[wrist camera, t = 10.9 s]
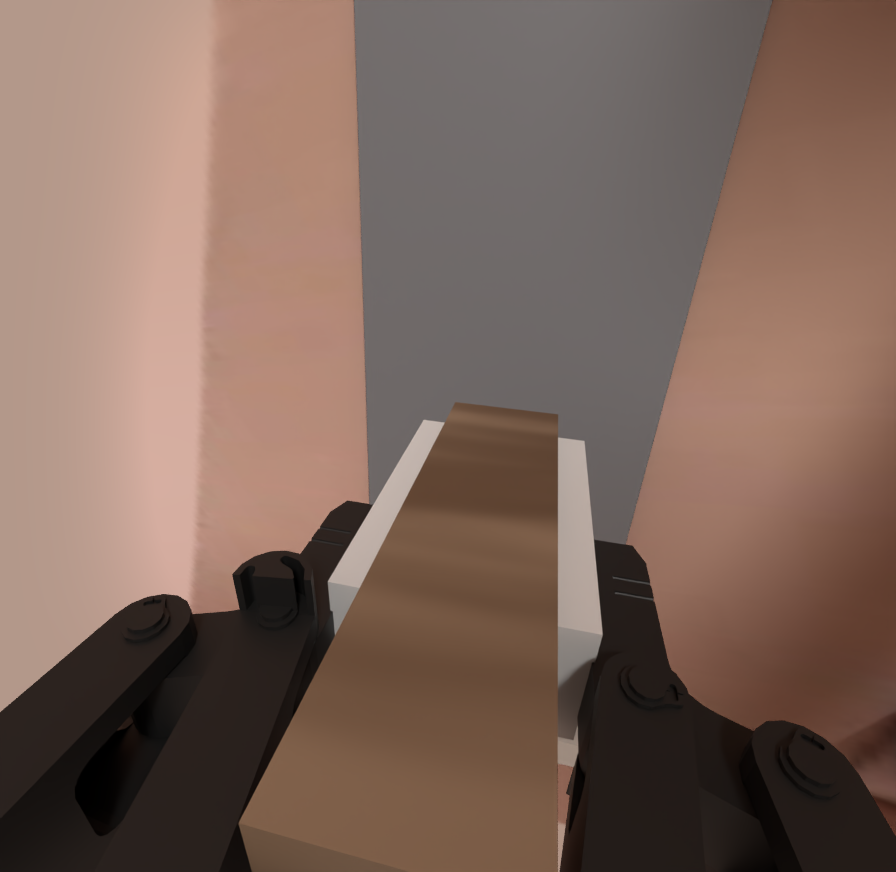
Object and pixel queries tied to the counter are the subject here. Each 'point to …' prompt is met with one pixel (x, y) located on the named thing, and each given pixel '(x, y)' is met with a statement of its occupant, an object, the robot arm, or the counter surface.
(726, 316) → the counter surface
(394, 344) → the grey board
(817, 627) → the counter surface
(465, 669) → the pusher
